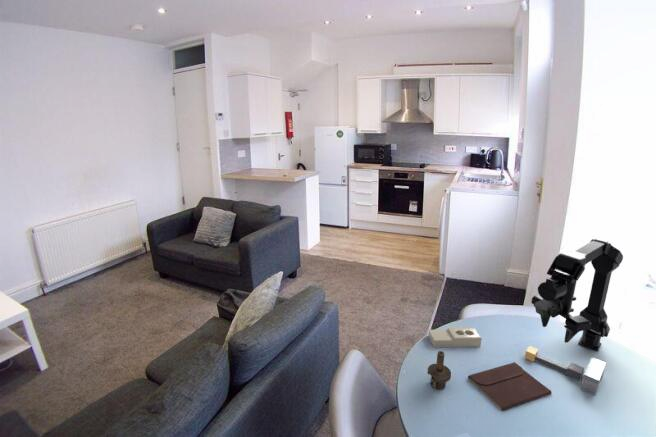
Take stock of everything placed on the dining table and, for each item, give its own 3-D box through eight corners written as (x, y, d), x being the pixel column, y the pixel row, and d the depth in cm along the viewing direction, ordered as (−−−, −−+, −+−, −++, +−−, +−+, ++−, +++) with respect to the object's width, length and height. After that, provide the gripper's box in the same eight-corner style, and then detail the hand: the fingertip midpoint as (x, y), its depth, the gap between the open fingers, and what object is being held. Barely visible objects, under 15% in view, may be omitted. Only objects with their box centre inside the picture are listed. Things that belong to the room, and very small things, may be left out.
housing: (588, 370, 128) (591, 357, 126) (602, 376, 125) (606, 362, 123) (580, 388, 119) (583, 374, 118) (595, 395, 117) (599, 380, 115)
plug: (528, 353, 137) (529, 346, 136) (582, 375, 125) (584, 367, 125) (524, 358, 134) (525, 350, 133) (579, 381, 123) (581, 373, 122)
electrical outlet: (429, 327, 146) (474, 327, 146) (428, 336, 147) (473, 336, 148) (434, 338, 139) (482, 337, 140) (433, 347, 140) (480, 347, 141)
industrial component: (441, 374, 125) (444, 344, 122) (455, 389, 119) (458, 357, 116) (417, 380, 123) (419, 349, 119) (429, 396, 116) (433, 363, 113)
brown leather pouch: (551, 395, 117) (552, 390, 117) (502, 412, 110) (503, 407, 110) (513, 366, 131) (514, 361, 130) (467, 379, 124) (468, 374, 123)
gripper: (521, 282, 127) (514, 322, 131) (566, 309, 110) (557, 354, 114) (548, 278, 129) (541, 318, 134) (597, 305, 112) (586, 349, 116)
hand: (554, 334), depth 124 cm, fingers open, 9 cm apart
